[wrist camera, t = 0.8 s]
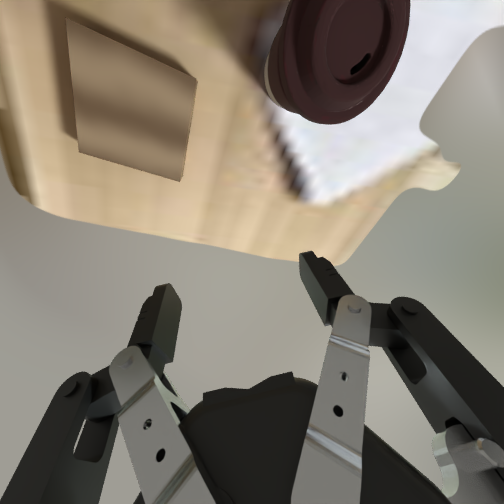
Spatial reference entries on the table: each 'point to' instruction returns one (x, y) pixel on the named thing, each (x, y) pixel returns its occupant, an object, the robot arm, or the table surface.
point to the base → (129, 104)
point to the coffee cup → (335, 56)
